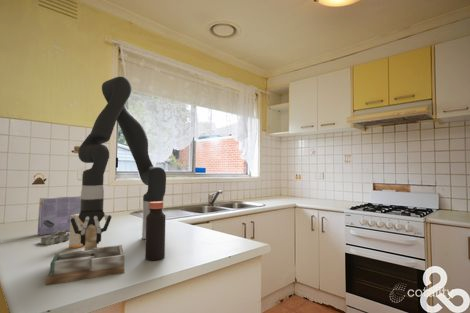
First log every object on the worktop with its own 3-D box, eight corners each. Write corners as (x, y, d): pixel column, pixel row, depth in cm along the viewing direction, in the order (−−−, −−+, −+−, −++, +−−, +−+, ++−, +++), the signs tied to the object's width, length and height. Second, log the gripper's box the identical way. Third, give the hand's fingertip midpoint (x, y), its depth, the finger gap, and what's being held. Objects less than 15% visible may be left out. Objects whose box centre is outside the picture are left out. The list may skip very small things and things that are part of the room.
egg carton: (62, 238, 122) (63, 229, 123) (73, 240, 119) (73, 230, 119) (37, 243, 113) (38, 234, 113) (47, 246, 109) (48, 236, 110)
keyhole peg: (100, 251, 101) (101, 223, 102) (100, 256, 96) (101, 226, 96) (81, 254, 98) (82, 224, 99) (79, 259, 93) (80, 227, 93)
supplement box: (78, 248, 106) (79, 215, 107) (68, 247, 107) (69, 215, 108) (93, 242, 114) (94, 212, 115) (83, 242, 115) (84, 211, 116)
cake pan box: (78, 227, 143) (79, 195, 144) (83, 228, 140) (84, 195, 141) (36, 234, 128) (38, 198, 129) (40, 236, 125) (42, 198, 126)
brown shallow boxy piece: (121, 257, 95) (121, 243, 96) (124, 272, 81) (124, 256, 81) (54, 265, 86) (55, 251, 87) (45, 285, 72) (46, 267, 72)
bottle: (154, 262, 90) (155, 203, 91) (141, 258, 94) (142, 202, 95) (168, 256, 96) (169, 201, 97) (156, 253, 100) (157, 200, 101)
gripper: (113, 195, 105) (111, 239, 104) (71, 197, 98) (69, 243, 97) (113, 197, 98) (112, 244, 97) (68, 199, 92) (66, 249, 91)
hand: (90, 243), depth 97 cm, fingers closed on keyhole peg, 4 cm apart
